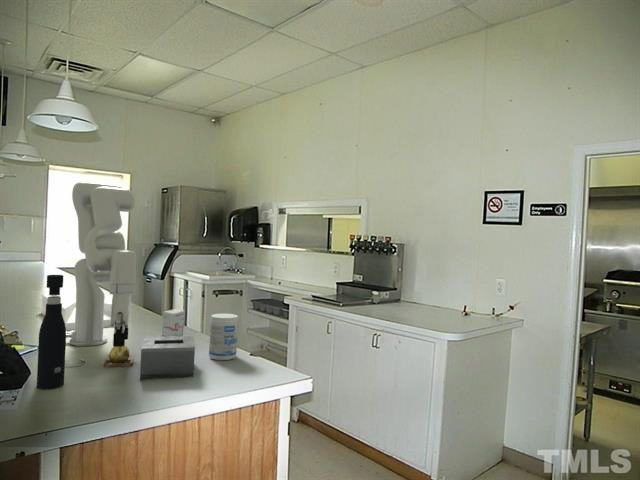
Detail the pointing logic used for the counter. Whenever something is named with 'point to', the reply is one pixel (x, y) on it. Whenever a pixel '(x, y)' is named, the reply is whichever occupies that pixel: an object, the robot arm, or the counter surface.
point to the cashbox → (167, 357)
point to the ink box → (173, 323)
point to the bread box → (70, 310)
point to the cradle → (109, 364)
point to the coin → (119, 354)
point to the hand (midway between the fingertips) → (120, 342)
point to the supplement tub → (223, 336)
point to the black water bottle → (52, 339)
